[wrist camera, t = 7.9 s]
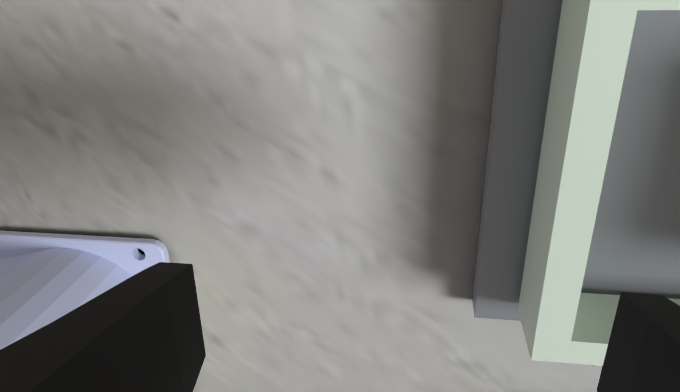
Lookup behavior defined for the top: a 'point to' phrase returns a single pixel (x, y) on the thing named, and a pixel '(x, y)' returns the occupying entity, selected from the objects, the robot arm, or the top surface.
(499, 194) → the housing base
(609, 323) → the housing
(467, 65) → the top surface
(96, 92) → the top surface
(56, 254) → the robot arm
